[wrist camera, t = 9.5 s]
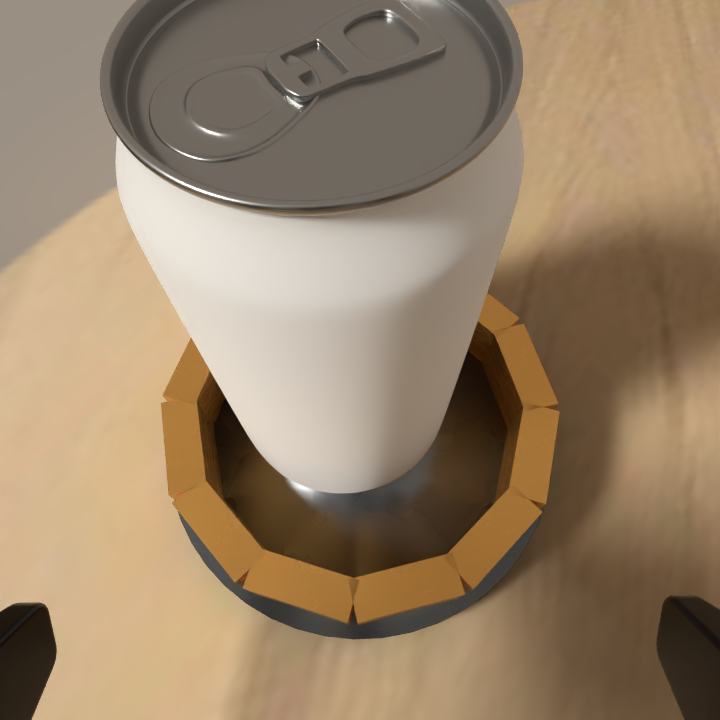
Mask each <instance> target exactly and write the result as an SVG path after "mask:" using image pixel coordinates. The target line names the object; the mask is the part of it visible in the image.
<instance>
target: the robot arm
mask: <svg viewBox="0 0 720 720" xmlns="http://www.w3.org/2000/svg"><path fill="white" fill-rule="evenodd" d="M656 645H657V653H658V657H659V660H660V662H661V665H662V667H663V669H664V672H665V674H666V677H667V679H668V681H669V684H670V686H671V689H672V691H673V694H674V696H675V698H676V701H677V703H678V706H679V708H680V710H681V713H682V715H683V718H684V720H720V609H718V608H716V607H715V606H713V605H711V604H710V603H708V602H706V601H705V600H703V599H701V598H699V597H697V596H691V595H690V596H669V597H667V598H666V599H665V601H664V603H663V607H662V612H661V618H660V623H659V629H658V634H657V641H656ZM56 653H57V648H56V642H55V637H54V633H53V628H52V624H51V619H50V615H49V611H48V608H47V607H46V605H45V604H43V603H15V604H13V605H11V606H9V607H7V608H6V609H4V610H2V611H1V612H0V720H32V717H33V715H34V712H35V710H36V708H37V705H38V703H39V700H40V698H41V696H42V693H43V691H44V688H45V686H46V683H47V681H48V679H49V676H50V674H51V671H52V669H53V666H54V664H55V660H56Z"/></svg>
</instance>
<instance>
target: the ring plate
mask: <svg viewBox="0 0 720 720" xmlns="http://www.w3.org/2000/svg"><path fill="white" fill-rule="evenodd" d="M518 320H519V317H518V316H516V315H515V314H514V313H513V312H511V311H510V310H509V309H508V308H506V307H505V306H504V305H503V304H501V303H500V302H499V301H497V300H496V299H495V298H494V297H492V296H491V295H490V294H489V293H487V295H486V298H485V301H484V304H483V307H482V310H481V313H480V316H479V319H478V322H477V325H476V327H475V330H474V333H473V336H472V339H471V342H470V345H469V348H468V351H467V354H466V357H465V359H464V362H463V365H462V368H461V371H460V374H459V377H458V380H457V382H456V385H455V388H454V391H453V394H452V397H451V399H450V402H449V405H448V408H447V411H446V413H445V416H444V419H443V421H442V424H441V426H440V429H439V431H438V434H437V436H436V438H435V440H434V441H433V443H432V445H431V446H430V448H429V449H428V451H427V452H426V453H425V455H424V456H423V457H422V458H421V459H420V460H419V462H418V463H417V464H416V465H414V466H413V467H412V468H411V469H410V470H409V471H407V472H406V473H405V474H403V475H402V476H400V477H399V478H397V479H395V480H393V481H392V482H390V483H388V484H385V485H383V486H380V487H378V488H374V489H371V490H367V491H363V492H357V493H328V492H321V491H317V490H313V489H309V488H307V487H304V486H301V485H299V484H297V483H295V482H293V481H291V480H289V479H288V478H286V477H285V476H283V475H282V474H280V473H279V472H278V471H277V470H276V469H275V468H273V467H272V466H271V465H270V464H269V463H268V462H267V460H266V459H265V458H264V457H263V456H262V455H261V454H260V452H259V451H258V450H257V449H256V447H255V446H254V444H253V443H252V441H251V440H250V438H249V436H248V435H247V433H246V432H245V430H244V428H243V427H242V425H241V423H240V421H239V420H238V418H237V416H236V415H235V413H234V411H233V409H232V408H231V406H230V404H229V403H228V401H227V399H226V397H225V396H224V394H223V392H222V390H221V389H220V387H219V385H218V384H217V382H216V380H215V378H214V377H213V375H212V373H211V371H210V370H209V368H208V366H207V364H206V363H205V361H204V359H203V357H202V356H201V354H200V352H199V350H198V349H197V347H196V345H195V343H194V342H193V340H192V338H191V339H190V341H189V343H188V345H187V347H186V349H185V351H184V353H183V355H182V357H181V359H180V361H179V363H178V365H177V367H176V369H175V371H174V373H173V375H172V377H171V379H170V382H169V384H168V386H167V388H166V390H165V392H164V394H163V397H164V398H165V399H166V400H167V401H168V402H164V403H161V408H162V420H163V432H164V444H165V456H166V468H167V479H168V491H169V495H170V496H171V497H172V498H174V500H175V501H174V502H172V504H173V505H174V506H175V508H176V509H177V510H178V513H179V516H180V519H181V522H182V524H183V526H184V528H185V530H186V532H187V534H188V536H189V539H190V541H191V543H192V544H193V546H194V547H195V549H196V550H197V552H198V553H199V555H200V556H201V558H202V559H203V561H204V562H205V564H206V565H207V567H208V568H209V569H210V570H211V571H212V572H213V573H214V574H215V575H216V577H217V578H218V579H219V580H220V581H221V582H222V583H223V584H224V585H225V586H226V587H227V588H228V589H229V590H231V591H232V592H233V593H234V594H235V595H237V596H238V597H239V598H240V599H241V600H243V601H244V602H245V603H246V604H248V605H250V606H251V607H253V608H255V609H256V610H258V611H260V612H261V613H263V614H265V615H266V616H268V617H270V618H272V619H274V620H277V621H279V622H281V623H284V624H286V625H288V626H291V627H293V628H296V629H299V630H303V631H307V632H311V633H315V634H319V635H323V636H328V637H337V638H347V639H372V638H385V637H390V636H395V635H401V634H406V633H411V632H414V631H417V630H420V629H422V628H425V627H428V626H431V625H434V624H437V623H439V622H441V621H443V620H445V619H447V618H449V617H451V616H453V615H455V614H457V613H459V612H460V611H462V610H464V609H466V608H467V607H468V606H470V605H471V604H472V603H474V602H475V601H477V600H478V599H479V598H481V597H482V596H483V595H485V594H486V593H487V592H488V591H489V590H491V589H492V588H493V587H494V586H495V585H496V584H497V583H498V582H499V581H500V580H501V579H502V578H503V577H504V576H505V575H506V574H507V573H508V571H509V570H510V569H511V567H512V566H513V565H514V563H515V562H516V561H517V559H518V558H519V557H520V555H521V554H522V553H523V551H524V549H525V548H526V546H527V544H528V542H529V540H530V539H531V537H532V535H533V533H534V531H535V529H536V527H537V524H538V522H539V519H540V516H541V514H542V511H543V508H544V506H545V505H546V502H547V495H548V489H549V483H550V476H551V468H552V461H553V454H554V447H555V440H556V434H557V427H558V420H559V413H560V411H557V410H554V409H555V407H556V406H557V405H558V404H559V403H558V401H557V399H556V396H555V394H554V392H553V389H552V387H551V385H550V382H549V380H548V378H547V376H546V373H545V371H544V369H543V366H542V364H541V362H540V359H539V357H538V355H537V352H536V350H535V348H534V345H533V343H532V341H531V339H530V336H529V334H528V332H527V329H526V327H525V325H524V324H520V325H516V324H517V322H518Z"/></svg>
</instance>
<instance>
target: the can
mask: <svg viewBox="0 0 720 720" xmlns="http://www.w3.org/2000/svg"><path fill="white" fill-rule="evenodd" d="M522 77H523V55H522V49H521V44H520V40H519V37H518V34H517V31H516V29H515V27H514V24H513V22H512V21H511V19H510V17H509V15H508V14H507V12H506V11H505V9H504V8H503V6H502V5H501V4H500V3H499V1H498V0H137V1H136V2H135V3H134V4H133V5H132V6H131V7H130V8H129V9H128V10H127V11H126V13H125V14H124V16H123V17H122V18H121V20H120V21H119V22H118V24H117V25H116V27H115V29H114V31H113V32H112V34H111V36H110V39H109V41H108V43H107V46H106V48H105V51H104V55H103V58H102V63H101V70H100V90H101V97H102V101H103V106H104V108H105V112H106V114H107V117H108V119H109V121H110V124H111V126H112V127H113V129H114V131H115V133H116V134H117V144H116V175H117V185H118V191H119V196H120V199H121V203H122V206H123V208H124V211H125V213H126V216H127V219H128V221H129V224H130V226H131V228H132V231H133V233H134V235H135V237H136V238H137V240H138V242H139V244H140V246H141V248H142V250H143V252H144V254H145V256H146V258H147V260H148V261H149V263H150V265H151V267H152V269H153V270H154V272H155V274H156V276H157V278H158V279H159V281H160V283H161V285H162V287H163V288H164V290H165V292H166V294H167V296H168V297H169V299H170V301H171V303H172V305H173V306H174V308H175V310H176V312H177V313H178V315H179V317H180V319H181V320H182V322H183V324H184V326H185V328H186V329H187V331H188V333H189V335H190V336H191V338H192V340H193V342H194V343H195V345H196V347H197V349H198V350H199V352H200V354H201V356H202V357H203V359H204V361H205V363H206V364H207V366H208V368H209V370H210V371H211V373H212V375H213V377H214V378H215V380H216V382H217V384H218V385H219V387H220V389H221V390H222V392H223V394H224V396H225V397H226V399H227V401H228V403H229V404H230V406H231V408H232V409H233V411H234V413H235V415H236V416H237V418H238V420H239V421H240V423H241V425H242V427H243V428H244V430H245V432H246V433H247V435H248V436H249V438H250V440H251V441H252V443H253V444H254V446H255V447H256V449H257V450H258V451H259V452H260V454H261V455H262V456H263V457H264V458H265V459H266V460H267V462H268V463H269V464H270V465H271V466H272V467H273V468H275V469H276V470H277V471H278V472H279V473H280V474H282V475H283V476H285V477H286V478H288V479H289V480H291V481H293V482H295V483H297V484H299V485H301V486H304V487H307V488H309V489H313V490H317V491H321V492H328V493H357V492H363V491H367V490H371V489H374V488H378V487H380V486H383V485H385V484H388V483H390V482H392V481H393V480H395V479H397V478H399V477H400V476H402V475H403V474H405V473H406V472H407V471H409V470H410V469H411V468H412V467H413V466H414V465H416V464H417V463H418V462H419V460H420V459H421V458H422V457H423V456H424V455H425V453H426V452H427V451H428V449H429V448H430V446H431V445H432V443H433V441H434V440H435V438H436V436H437V434H438V431H439V429H440V426H441V424H442V421H443V419H444V416H445V413H446V411H447V408H448V405H449V402H450V399H451V397H452V394H453V391H454V388H455V385H456V382H457V380H458V377H459V374H460V371H461V368H462V365H463V362H464V359H465V357H466V354H467V351H468V348H469V345H470V342H471V339H472V336H473V333H474V330H475V327H476V325H477V322H478V319H479V316H480V313H481V310H482V307H483V304H484V301H485V298H486V295H487V292H488V289H489V286H490V283H491V280H492V277H493V275H494V272H495V269H496V266H497V263H498V260H499V257H500V254H501V250H502V247H503V244H504V241H505V238H506V235H507V232H508V229H509V226H510V223H511V219H512V216H513V212H514V209H515V206H516V202H517V199H518V195H519V190H520V185H521V179H522V173H523V164H524V151H523V139H522V132H521V127H520V122H519V118H518V114H517V110H516V106H515V104H516V102H517V99H518V96H519V92H520V88H521V83H522Z"/></svg>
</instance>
